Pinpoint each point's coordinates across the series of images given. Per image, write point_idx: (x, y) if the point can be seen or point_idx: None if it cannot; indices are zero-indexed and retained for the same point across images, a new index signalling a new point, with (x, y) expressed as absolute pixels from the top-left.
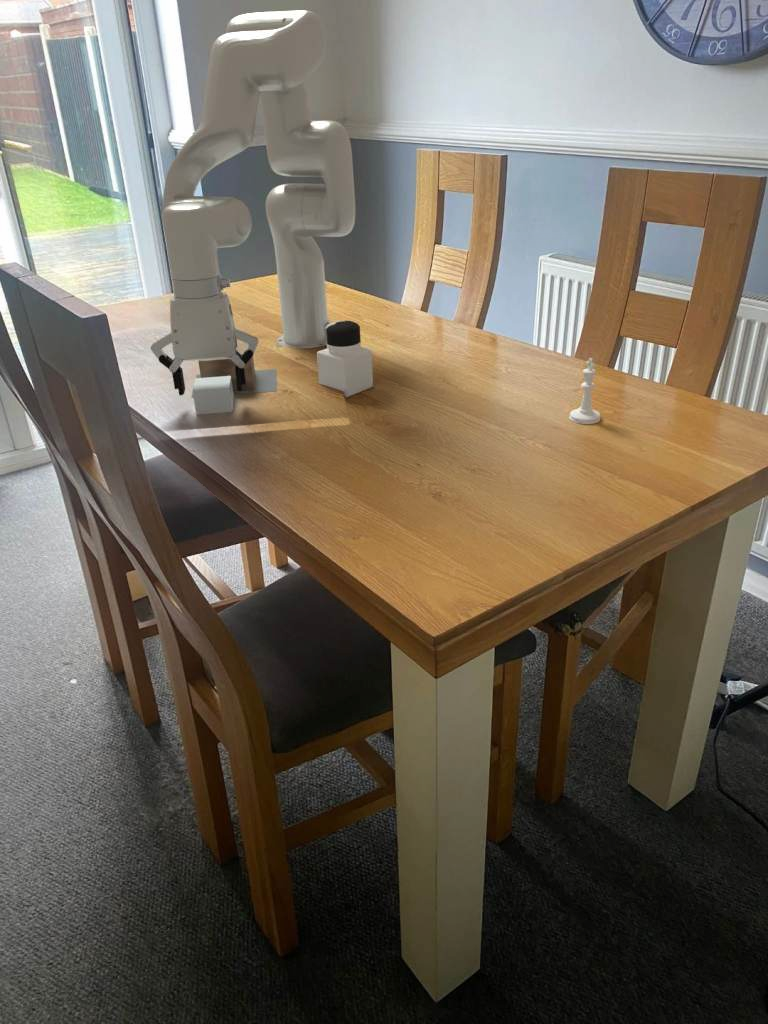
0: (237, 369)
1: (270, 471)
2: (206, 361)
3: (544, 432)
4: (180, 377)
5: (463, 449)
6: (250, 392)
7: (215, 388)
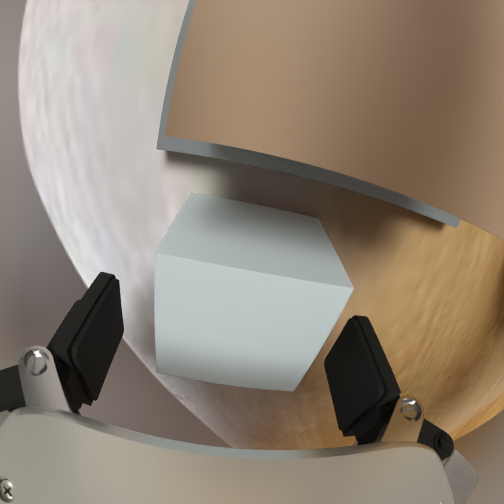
0: (347, 433)
1: (278, 443)
2: (245, 146)
3: (498, 391)
4: (100, 387)
5: (448, 416)
6: (396, 197)
7: (244, 384)
